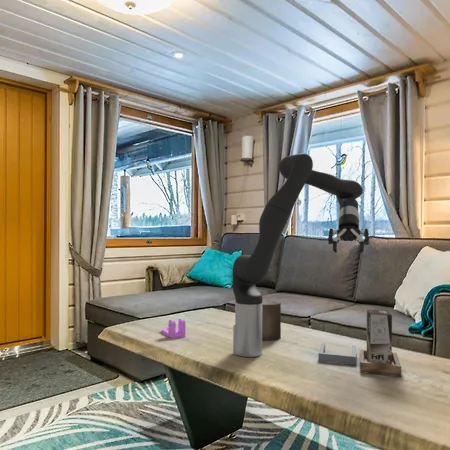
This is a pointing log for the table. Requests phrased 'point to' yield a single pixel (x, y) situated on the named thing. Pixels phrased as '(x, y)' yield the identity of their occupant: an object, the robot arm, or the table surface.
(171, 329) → the bracket
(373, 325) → the coffee box
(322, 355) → the bay
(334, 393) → the table surface
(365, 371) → the tray
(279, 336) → the pillar candle
